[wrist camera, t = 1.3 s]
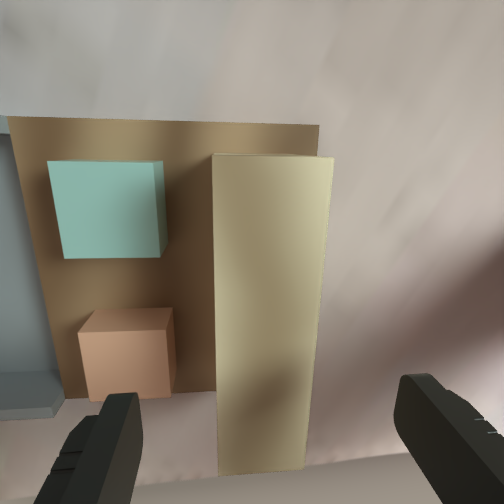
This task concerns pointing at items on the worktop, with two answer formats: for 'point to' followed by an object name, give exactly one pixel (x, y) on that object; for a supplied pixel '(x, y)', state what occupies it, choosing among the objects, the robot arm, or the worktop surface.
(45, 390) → the box
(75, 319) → the board
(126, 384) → the tile
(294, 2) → the worktop surface
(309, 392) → the cream wooden beam
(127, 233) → the tile
